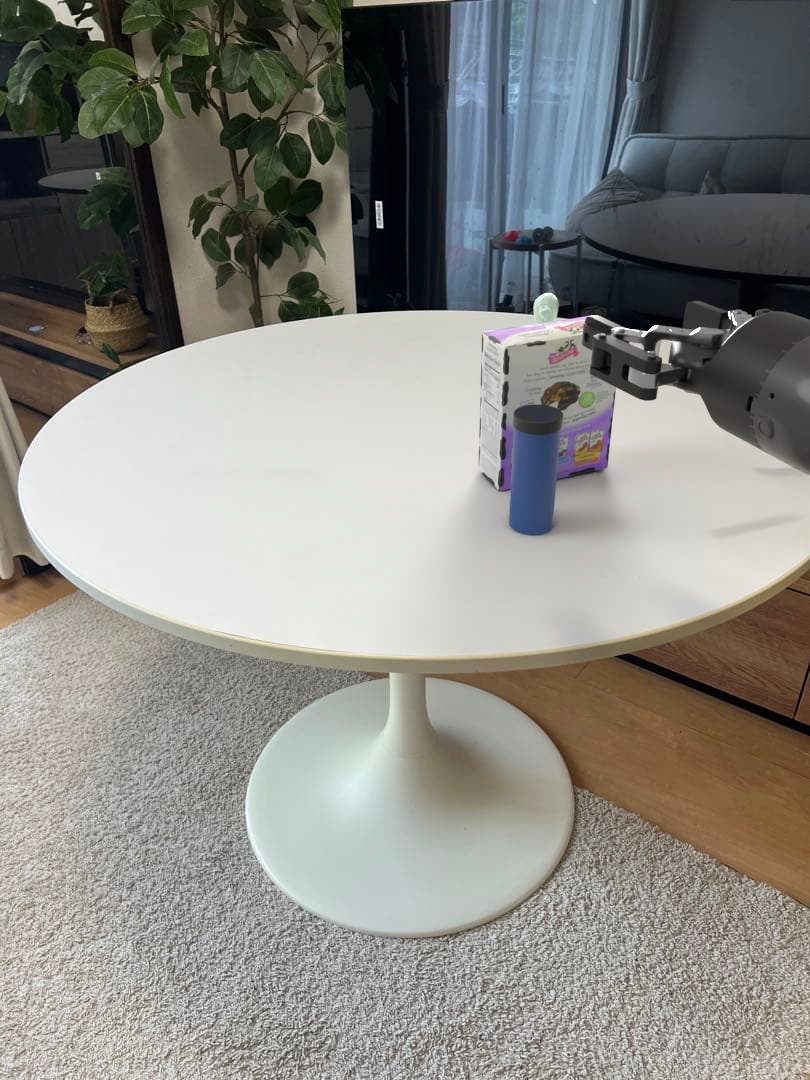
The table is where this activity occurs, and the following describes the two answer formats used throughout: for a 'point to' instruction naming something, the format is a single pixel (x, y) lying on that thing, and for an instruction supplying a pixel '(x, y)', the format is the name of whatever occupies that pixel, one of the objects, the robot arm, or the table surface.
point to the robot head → (545, 308)
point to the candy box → (542, 396)
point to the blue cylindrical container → (534, 468)
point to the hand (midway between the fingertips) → (639, 322)
